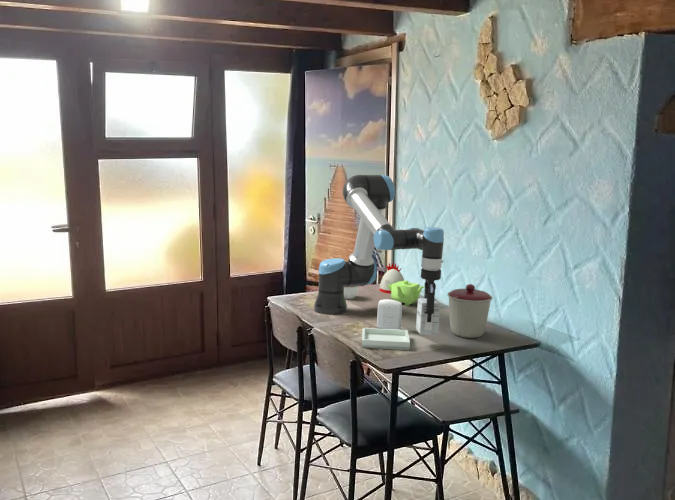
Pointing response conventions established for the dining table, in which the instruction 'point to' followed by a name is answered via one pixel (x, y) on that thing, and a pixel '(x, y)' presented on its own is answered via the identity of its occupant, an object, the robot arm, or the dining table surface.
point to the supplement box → (421, 317)
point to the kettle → (405, 292)
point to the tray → (385, 338)
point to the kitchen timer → (390, 278)
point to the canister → (468, 311)
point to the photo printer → (389, 314)
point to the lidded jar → (350, 292)
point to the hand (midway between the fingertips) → (427, 326)
